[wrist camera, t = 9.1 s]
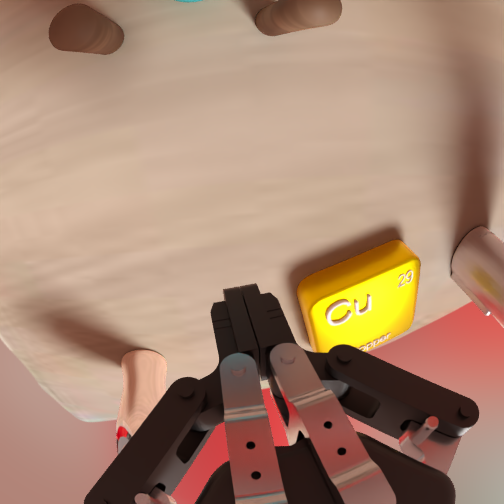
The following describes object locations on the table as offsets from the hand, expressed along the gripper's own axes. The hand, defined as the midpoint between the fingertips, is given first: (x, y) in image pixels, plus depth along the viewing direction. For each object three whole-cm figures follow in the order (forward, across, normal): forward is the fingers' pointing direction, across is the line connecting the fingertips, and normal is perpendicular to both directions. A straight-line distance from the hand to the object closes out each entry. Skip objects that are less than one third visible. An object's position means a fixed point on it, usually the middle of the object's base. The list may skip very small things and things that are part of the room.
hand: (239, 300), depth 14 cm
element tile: (+16, -17, +18) cm, 30 cm away
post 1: (+15, +6, -13) cm, 21 cm away
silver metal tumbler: (+15, +12, +22) cm, 29 cm away
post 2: (+15, -6, -13) cm, 21 cm away
